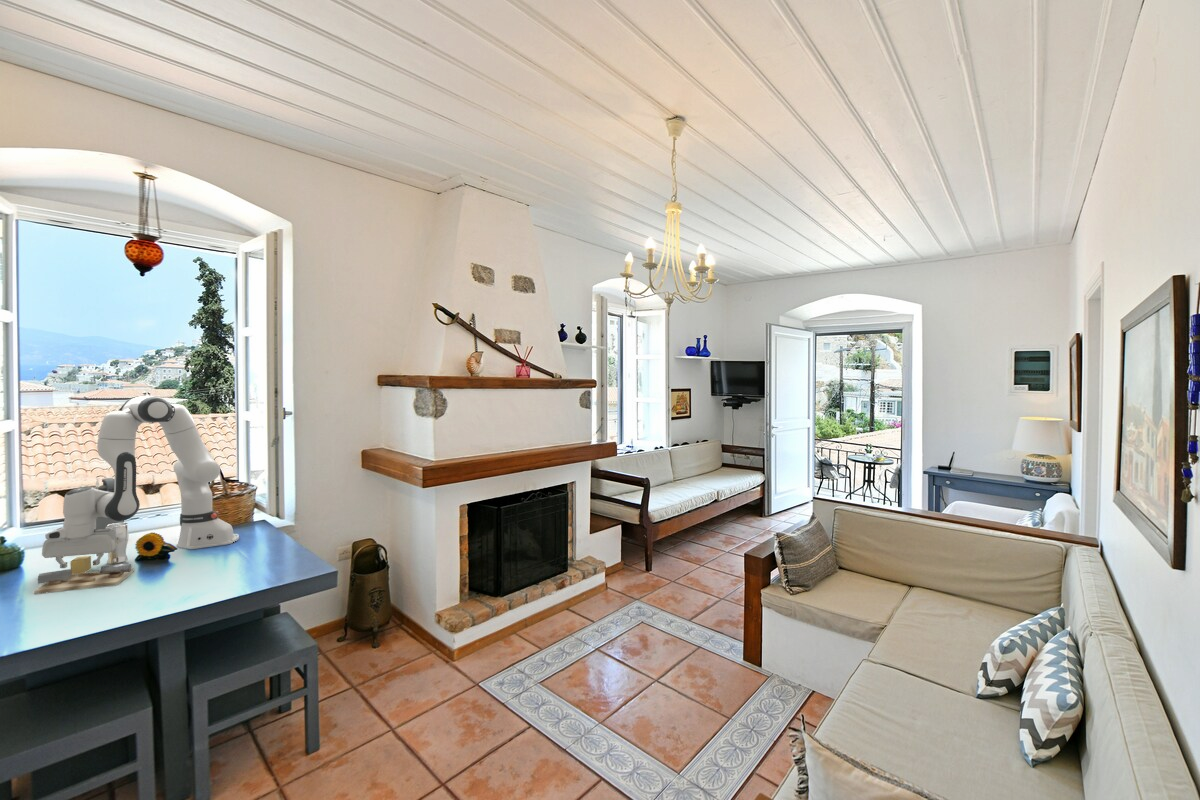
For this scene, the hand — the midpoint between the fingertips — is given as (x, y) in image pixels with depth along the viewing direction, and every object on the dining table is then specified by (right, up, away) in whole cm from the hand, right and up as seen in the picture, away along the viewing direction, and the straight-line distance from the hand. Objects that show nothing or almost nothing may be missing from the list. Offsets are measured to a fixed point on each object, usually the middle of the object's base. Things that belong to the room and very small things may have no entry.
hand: (80, 566), depth 198 cm
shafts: (+13, 0, -11) cm, 17 cm away
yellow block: (0, -2, 0) cm, 2 cm away
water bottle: (-22, 0, +35) cm, 41 cm away
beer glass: (+4, -2, +11) cm, 12 cm away
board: (+12, -3, -10) cm, 16 cm away
